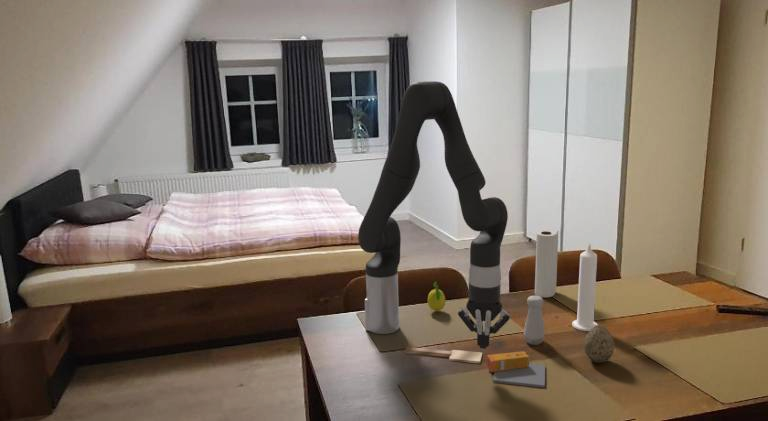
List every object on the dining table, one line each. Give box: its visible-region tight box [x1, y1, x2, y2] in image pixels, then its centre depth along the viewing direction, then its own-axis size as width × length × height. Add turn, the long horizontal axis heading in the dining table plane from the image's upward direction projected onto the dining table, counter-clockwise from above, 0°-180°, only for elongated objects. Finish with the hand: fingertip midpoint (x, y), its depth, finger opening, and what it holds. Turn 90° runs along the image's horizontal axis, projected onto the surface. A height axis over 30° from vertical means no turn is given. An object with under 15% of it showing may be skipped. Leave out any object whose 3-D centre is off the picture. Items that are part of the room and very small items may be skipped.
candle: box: [571, 243, 599, 332], centre depth 165 cm, size 7×7×25 cm
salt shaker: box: [523, 295, 546, 346], centre depth 158 cm, size 6×6×13 cm
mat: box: [492, 362, 546, 388], centre depth 142 cm, size 12×10×1 cm
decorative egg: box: [583, 324, 615, 364], centre depth 146 cm, size 7×7×10 cm
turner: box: [405, 346, 483, 365], centre depth 153 cm, size 20×5×1 cm, turn 74°
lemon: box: [427, 281, 446, 313], centre depth 180 cm, size 7×6×10 cm
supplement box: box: [486, 351, 530, 373], centre depth 144 cm, size 3×3×10 cm
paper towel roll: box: [534, 230, 559, 298], centre depth 190 cm, size 7×6×21 cm
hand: (483, 347), depth 142 cm, fingers closed
